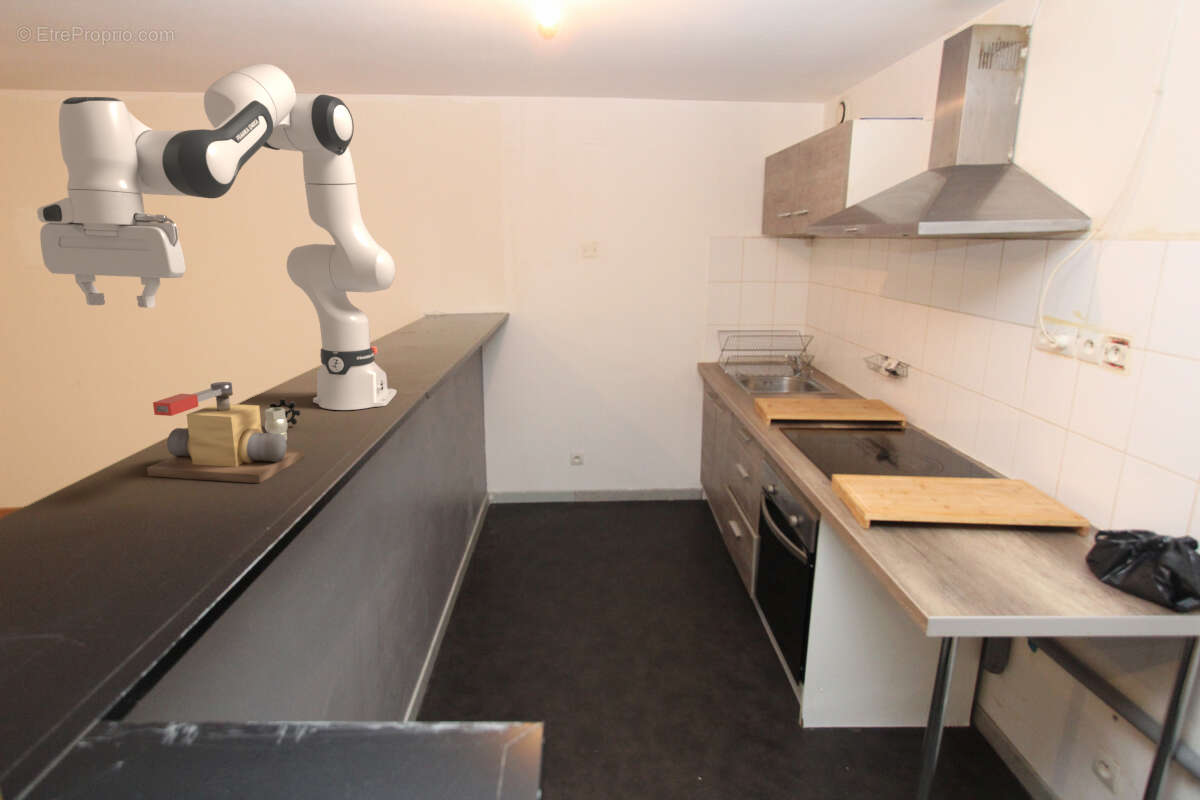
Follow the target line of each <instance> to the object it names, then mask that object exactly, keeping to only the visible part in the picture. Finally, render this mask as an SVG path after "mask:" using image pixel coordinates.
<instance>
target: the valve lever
mask: <svg viewBox="0 0 1200 800" xmlns="http://www.w3.org/2000/svg"><path fill="white" fill-rule="evenodd" d="M232 383H233V382H230V381H229V382H228V381H217V382H213V383H211V384H210V388H207V389H203V390H201V391H198V392H195V393H192V394H191V393H179V394H176V395H173V396H169V397H165V398H163V399H159V400H156V401H153V402H152V406H153V412H154V413H153V414H154V415H155V416H169V417H170V416H171V417H172V416H175V415H178V414H181V413H184V412H186V411H190V410H193V409H196V408H198V407H199V402H203V401H207V400H209V399H212V398H216V397H227V396H229V397H231V396H233V395H234V393H233V384H232Z"/></svg>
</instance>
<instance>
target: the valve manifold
mask: <svg viewBox="0 0 1200 800" xmlns="http://www.w3.org/2000/svg"><path fill="white" fill-rule="evenodd" d="M215 401H216V403H214V404H211V405H209V406H206V407H203V408H201V409H197V410H194V411H192V412H189V413H187V414H186V420H187V421H186V422H187V428H185V427H184V428H183V427H180V428H179V427H178V428H177V427H176V428H174V429H172V430H171V432H170V433H169V435H168V437H167V440H166V447H167V450H168V453H170V455H172V456H171V457H169V458H166V459H164V460H162V461H159V462H157V463H155V464H153V465H150V466H148V467H146V470H147V471H146V472H147V477H155V478H158V477H159V478H170V479H185V480H186V479H187V480H188V479H189V480H202V481H203V480H204V481H217V482H218V481H220V482H231V483H232V482H234V483H235V482H236V483H248V484H249V483H252V484H254V483H255V484H261V483H263V482H264V481H266V480H268V479H269V478H271V477H273V476H274V475H276V474H278V473H279V472H281V471H283V470H285V469H286V468H288V467H289V466H291V465H293V464H295V463H296V462H298V461H299V460H302V459H303V458H304V457H305V455H304V454H305V453H304V449H301V448H300V449H299V448H288V447H287V446H288V445H287V440H286V439H285V437H284V436H283V435H282V434H272V433H267V432H263V430H262V421H261V420H262V419H261V410H260V405H255V404H239V403H231V401H230V396H227V397H215Z"/></svg>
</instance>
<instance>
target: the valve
mask: <svg viewBox="0 0 1200 800" xmlns="http://www.w3.org/2000/svg"><path fill="white" fill-rule="evenodd" d="M296 405H297V403H296V402H295V401H291V402H289V403H287V400H286V399H285V398H284V397H283V398H281V399H279V403H278V404H277V403H276V402H275V401H273V402H271V403H270V404H269V407H270V408H267V409H265V411H264V415H265V417H264V418H265V421H264V429H265V431H266V433H272V434H282V435H283V436H284V437H285V439H286V441H287V439H288V433H287V430H288V428H289V427H288V426H289V425H288V424H289V423H291V425H294V426H295V425H296V424H297V423H298V420H297V419H296V418H295V417H296V416H297V417H299V416H300V415H301V410H299V409H297V410H296V409H294V407H296ZM283 407H286V408H288V410H287V409H285V408H283ZM290 413H291V417H290V418H288V417H289V414H290ZM287 418H288V419H287Z"/></svg>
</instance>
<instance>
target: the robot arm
mask: <svg viewBox="0 0 1200 800" xmlns="http://www.w3.org/2000/svg"><path fill="white" fill-rule="evenodd" d="M203 107H204V111H205V114H206V118H207V120H208V121H209V122H210V124H211V126H212V127H213V128H214V129H204V128H203V129H187V130H154V129H153V128H152V127H149V126H147V125H146V124H144V123H143V122H142V121H140V120H139V119H137V118H136V117H135V115H133V114H132V113H131V111H129V110H128V108H127V106H126V104H125V102H124V101H123V100H120V99H118V98H114V97H108V96H77V97H76V96H71V97H69V98H66V99H65V100H63V101H62V102H61V105H60V107H59V108H60V109H59V114H58V132H59V141H60V147H61V148H60V149H61V155H62V156H61V157H62V160H63V162H64V164H65V166H66V168H67V173H68V180H67V185H66V186H67V187H66V188H67V195H68V196H67V197H64V198H62V199H60V200H57V201H54V202H52V203H49V204H46V205H43V206H40V207H39V208H37V211H36V214H37V218H38V220H39V222H41V223H44V225H42V227H41V229H40V234H39V236H40V237H39V238H40V247H41V255H42V259H43V260H42V261H43V264H44V266H45V267H46V269H47V270H48V271H49V272H50V273H51V274H53V275H54V274H56V275H58V274H59V275H61V274H63V275H74V279H75V283H76V284H77V286H78V287H79V288H80V289H81V291H82V292H83V293H84V295H85V300H86V304H87V305H88V306H103V305H105V304H106V301H105V293H103V292H99V290H98V288H97V287H96V285H95V284H94V283H95V282H97V280H96V276H105V277H106V276H109V277H130V278H131V277H132V278H140V283H141V285H144V287H143V290H142V293H141V295H136V300H137V306H138V307H139V308H147V309H150V308H151V309H152V308H155V306H156V299H155V298H156V297H155V296H156V294H157V292H158V291H159V289H160V287H161V279H177V278H179V279H180V278H182V277H183V276H184V275H185V272H186V271H187V270H186V269H187V268H186V262H185V258H184V257H185V256H184V252H183V248H182V245H181V242H180V239H179V232H178V226H177V224H176V223H175V222H174V221H173V220H172V219H171V218H169V217H167V216H166V215H165V214H147V213H145V206H144V199H143V197H144V196H143V195H154V196H155V195H159V196H161V195H162V196H178V197H179V196H181V197H194V198H195V197H196V198H203V199H218V198H221V197H223V196H224V195H225V194H227V193H228V192H229V191H230V189H231V188H232V186H233V184H234V183H235V181H236V179H237V176H238V174H239V173H240V171H241V169H242V168H243V166H244V165H245V164H246V163H247V162H248V161H249V160H250V159H251V158H252V157H253V156H254V155H255V154H256V153H257V152H258V151H259V150H260V149H261V148H262V147H264V148H267V149H271V150H274V151H279V150H284V151H292V152H301V153H302V168H303V170H302V171H303V179H304V187H305V194H306V201H307V210H308V215H309V217H310V219H311V220H312V222H313V223H314V224H315V225H317V226H318V227H320V228H322V229H323V230H325V231H326V232H327V233H329V235H330V236H331V238H332V239H333V241H334V244H322V243H311V244H305V245H300V246H296V247H294V248H293V249H291V251H290V253H289V254H288V256H287V260H286V271H287V274H288V277H289V279H290V280H291V282H292V283H293V284H294V285H295V286H297V287H298V288H299V289H301V290H302V291H303V292H304V294H306V296H307V297H308V299H309V300H310V301H311V302H312V305H313V307H314V310H315V311H316V314H317V316H318V322H319V330H320V337H321V338H320V339H321V348H320V355H319V357H320V363H321V364H322V366H321V367H320V368H319V369H318V370H317V373H316V374H317V378H316V380H317V382H316V383H317V384H316V385H317V387H316V397H313V399H312V402H313V404H318V406H319V407H320V408H322V409H325V410H326V409H327V410H336V411H351V410H362V409H363V410H364V409H368V408H369V409H370V408H375V407H385V406H387V405H389V403H390V402H391V401H392V399H393V398H395V396H396V395H397V393H398V392H397V390H396V389H394V388H391V387H390V388H389V387H388V378H387V373H386V372H385V370H383V369H382V368H381V367H380V366H379V365H378V364H377V363H376V362H375V360H376V359H375V355H377V353H378V348H377V346H371V341H370V340H371V339H370V338H371V337H370V320H369V318H368V316H367V314H366V313H365V312H364V311H363V310H361V309H360V308H358V307H356V306H354V305H353V304H352V303H351V301H350V300H349V298H348V295H347V293H348V292H350V293H374V292H381V291H385V290H388V289H389V288H390V287H391V286H392V284H393V283H394V281H395V279H396V278H395V277H396V272H397V271H396V263H395V261H394V259H393V257H392V255H391V254H390V252H389V251H387V250H386V249H384V248H383V247H382V246H381V245H379V243H377V241H376V240H375V239H374V238H373V237H372V235H371V234H370V232H369V230H368V229H367V227H366V225H365V222H364V219H363V216H362V211H361V205H360V201H359V193H358V185H357V176H356V171H355V166H354V162H353V158H352V153H351V151H350V147H349V145H350V144H351V141H352V139H353V137H354V125H355V124H354V120H353V115H352V112H351V111H350V109H349V107H348V106H347V105H346V104H345V103H344V101H343V100H342V99H340V98H338V97H336V96H332V95H329V94H320V95H317V94H311V93H296V88H295V85H294V83H293V81H292V80H291V78H290V76H288V74H286V72H285V71H283V70H282V69H281V68H280V67H277V66H276V65H274V64H270V63H256V64H250V65H247V66H243V67H241V68H238V69H235V70H232V71H231V72H229V73H227V74H225V75H223V76H221V77H220V78H218V79H217V80H216V81H214V82H212V84H210V86H209V87H208V88H207V89H206V91H205V92H204V95H203Z"/></svg>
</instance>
